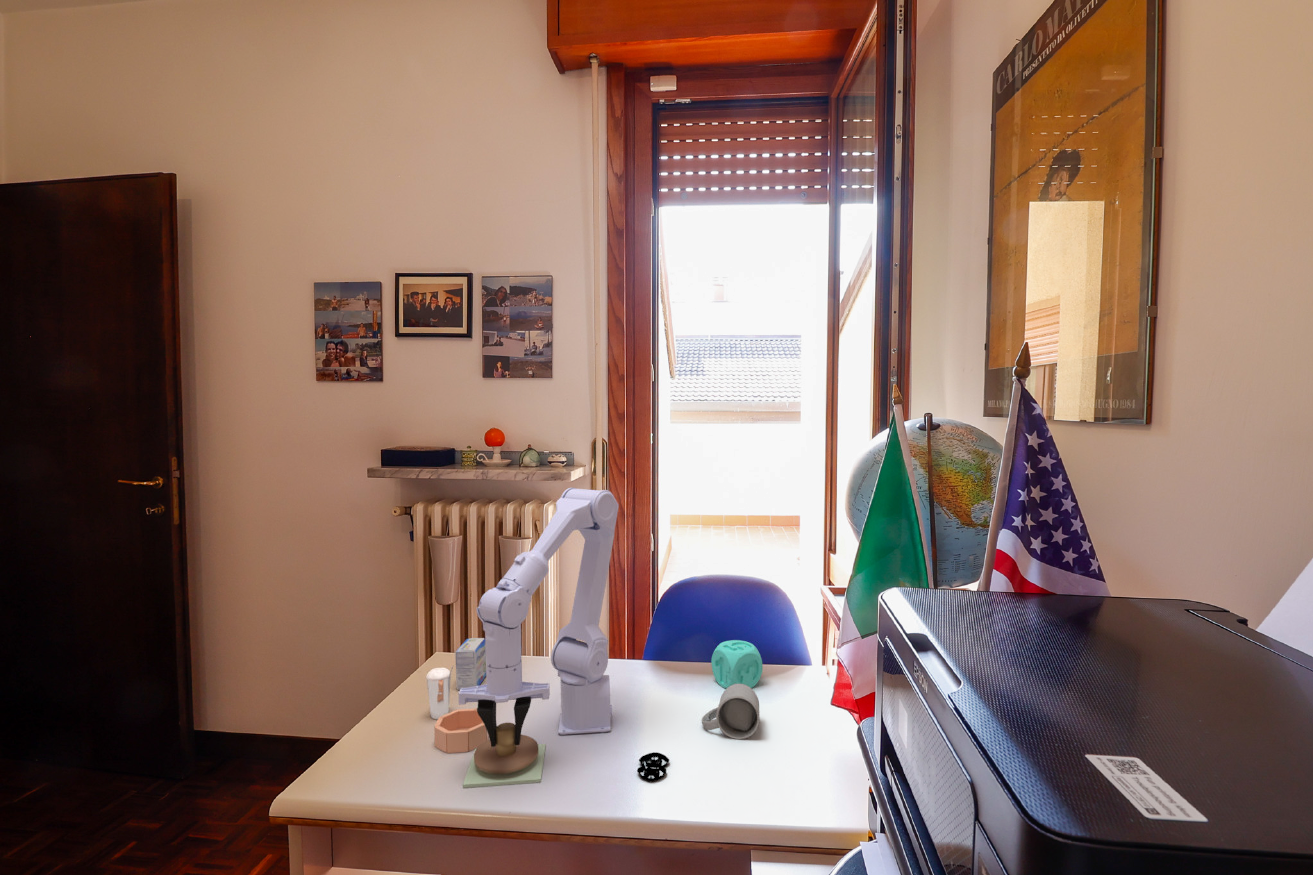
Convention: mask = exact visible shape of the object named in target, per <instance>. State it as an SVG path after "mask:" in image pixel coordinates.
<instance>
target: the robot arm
mask: <svg viewBox="0 0 1313 875" xmlns="http://www.w3.org/2000/svg"><path fill="white" fill-rule="evenodd" d="M619 506H620V505H619V503H618V501H617V500H616V498H615V496H614V494H613V493H612V491H610V490H608V489H601V490H597V489H585V488H577V487H569V488H567V489H565V490H564V491H563V492H562V494H561V496H560V498H559V499H557V500H556V503H555V512H554V514H553V516H552V518H551V519H550V520H549V522H548V524H547V525H546V527H545V528H544V530H543V532H542V533H541V535H540V537H539V538H538V540H536V542H535V544H534V546H533V547H532V549H531V550H529V551H523V552H521V553H520V554H517V555H516V557H515V558H514V560H513V561H514V562H513V563H512V565H511V566H510V568H509V569H508V570H507V572H506V573H505V574H504V576H503V577H502V578H501V579H500V581H498V583H497V585H496V587H492V588H491V589H490V588H489V589H488V590H487V591H486V592H485V593H483V594H482V596H481V598H480V600H479V603H478V607H476V608H475V610H476V614H477V617H478V618H479V620H480V621H481V622H482V630H483V631H484V633H485V634H484V636H485V642H486V677H485V678H486V684H480V686H475V687H469V688H461V689H460V690H458V691H459V692H458V705H460V706H461V705H466V704H467V703H477V707H476V708H477V713H478V715H479V716H480V718H481V719H482V721H483V723H484V725H485V727H486V729H487V732H488V735H489V738H488V739H490V742H491V747H495V746H496V727H497V726H498V725H497V704H499V703H501V704H502V703H508V702H509V701H512V700H515V703H514V705H513V711H514V712H513V714H514V724H515V745H519V744H520V740H521V735H522V729H523V725H524V723H525V719H526V717H527V714H528V712H529V711H530V710H529V709H530V707H531V703H532V699H541V700H544V701H545V700H546V701H547V700H550V693H551V692H550V686H551V685H550V683H549V682H548V683H542V682H540V683H539V682H529V681H523V666H522V665H523V664H522V663H523V660H522V658H523V657H522V628H521V626H522V625H521V624H522V623H523V622H524V621H525V620H526V618H527V616H528V614H529V610H530V609H529V608H530V607H529V606H530V603H531V601H532V596H533V595H534V593H535V592H536V591H537V589H538V588H539V586H540V585H541V583H542V582H543V581H544V579H545V578H546V576H547V575H548V573H549V561H550V560H551V558H552V557H553V556H554V555H555V554H556V553H557V551H558V550H559V548H561V546H562V545H563V543H565V542H566V540H567V539H568V538H569V536H571V534H572V533H573V532H574V531H576V530H577V531H579V533H580V534H581V536H582V538H584V544H583V548H582V549H583V550H582V555H581V562H580V567H579V572H578V578H577V582H576V588H575V593H574V594H575V595H574V600H573V605H572V610H571V614H570V615H571V616H570V620H569V621H570V622H569V623H568V624H566V625H564V626H563V627H562V628H561V629H559V630H558V635H557V638H556V642H555V643H554V645H553V647H552V649H551V654H550V662H551V665H552V667H553V668H554V670H556V671H557V677H560V707H561V708H560V710H561V711H560V714H559V723H558V731H557V732H558V735H574V734H575V735H577V734H588V733H589V734H590V733H605V732H606V733H607V732H611V729H612V726H611V723H612V722H611V716H613V706H612V704H611V685H610V684H611V683H610V674H609V675H608V674H604V673H605V672H606V670H607V668H608V665H609V664H608V663H609V655H608V645H609V644H608V643H609V639H608V637H607V636H606V634H604V632H603V631H602V629H601V628H600V626H599V625H600V622H601V620H600V619H601V613H602V608H603V604H604V597H605V590H606V585H607V581H608V580H607V579H608V574H609V569H610V562H611V556H612V550H613V544H614V539H615V530H616V525H617V518H618V513H619Z"/></svg>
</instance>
